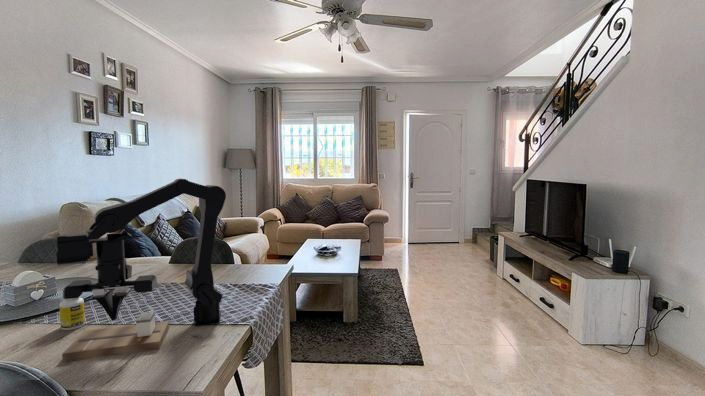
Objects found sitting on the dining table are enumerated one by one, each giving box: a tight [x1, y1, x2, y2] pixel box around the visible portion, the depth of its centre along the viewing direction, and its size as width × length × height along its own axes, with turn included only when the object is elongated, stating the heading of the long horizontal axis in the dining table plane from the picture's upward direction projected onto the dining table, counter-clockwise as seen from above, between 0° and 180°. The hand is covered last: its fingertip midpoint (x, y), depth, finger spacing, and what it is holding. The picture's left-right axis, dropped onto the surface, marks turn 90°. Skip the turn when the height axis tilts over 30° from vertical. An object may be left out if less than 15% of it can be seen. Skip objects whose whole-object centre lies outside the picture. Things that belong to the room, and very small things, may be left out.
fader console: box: [61, 320, 170, 363], centre depth 91 cm, size 20×12×2 cm, turn 107°
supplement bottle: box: [58, 293, 86, 331], centre depth 100 cm, size 5×5×10 cm
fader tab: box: [135, 311, 156, 337], centre depth 92 cm, size 3×5×4 cm, turn 17°
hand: (114, 319), depth 90 cm, fingers closed
